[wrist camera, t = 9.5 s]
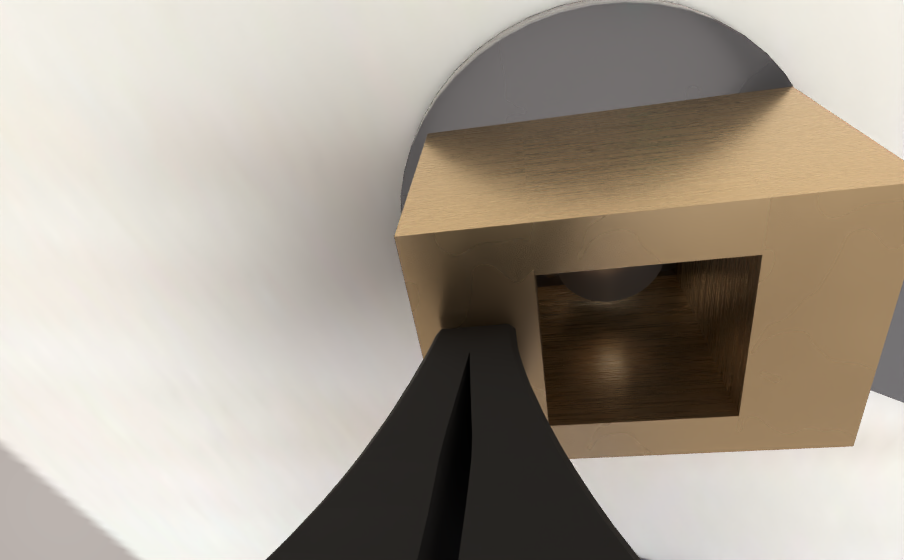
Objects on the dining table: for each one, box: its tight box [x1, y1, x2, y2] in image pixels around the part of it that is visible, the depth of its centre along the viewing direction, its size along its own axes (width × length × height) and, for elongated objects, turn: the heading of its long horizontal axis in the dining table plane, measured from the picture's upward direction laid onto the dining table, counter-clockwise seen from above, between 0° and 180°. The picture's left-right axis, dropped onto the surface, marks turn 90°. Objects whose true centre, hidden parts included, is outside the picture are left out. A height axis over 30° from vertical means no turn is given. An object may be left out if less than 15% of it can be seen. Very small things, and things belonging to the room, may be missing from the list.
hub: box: [401, 0, 793, 302], centre depth 14 cm, size 10×10×3 cm
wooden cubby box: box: [394, 86, 904, 459], centre depth 13 cm, size 6×8×5 cm
